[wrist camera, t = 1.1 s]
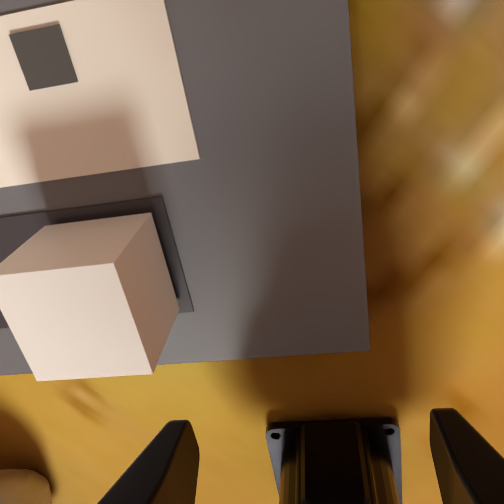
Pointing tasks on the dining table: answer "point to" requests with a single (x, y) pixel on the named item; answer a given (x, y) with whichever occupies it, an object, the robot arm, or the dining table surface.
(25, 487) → the heart
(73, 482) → the dining table surface
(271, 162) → the switch board
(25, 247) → the peach cube
